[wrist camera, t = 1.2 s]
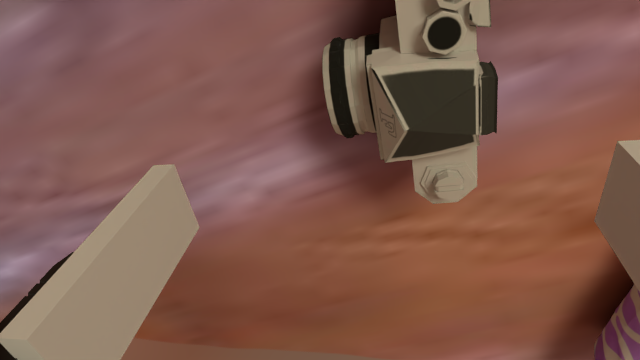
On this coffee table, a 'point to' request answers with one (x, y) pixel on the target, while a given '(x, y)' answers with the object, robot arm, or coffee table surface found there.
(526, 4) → the coffee table surface
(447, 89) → the camera
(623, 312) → the pencil case
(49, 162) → the coffee table surface
